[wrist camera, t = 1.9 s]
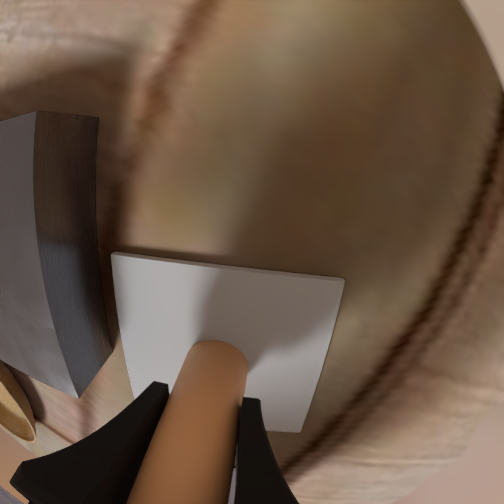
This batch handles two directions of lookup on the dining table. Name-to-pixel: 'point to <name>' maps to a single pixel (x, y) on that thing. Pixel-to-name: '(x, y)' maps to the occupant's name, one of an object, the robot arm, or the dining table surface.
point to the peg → (196, 431)
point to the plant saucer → (15, 407)
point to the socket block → (51, 251)
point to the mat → (228, 326)
